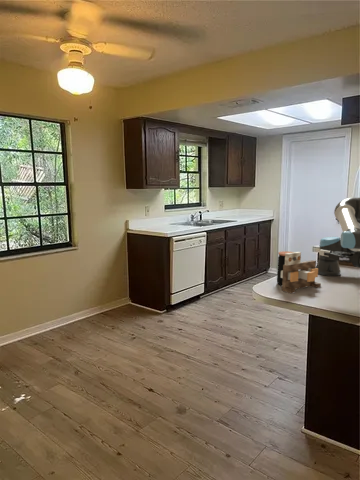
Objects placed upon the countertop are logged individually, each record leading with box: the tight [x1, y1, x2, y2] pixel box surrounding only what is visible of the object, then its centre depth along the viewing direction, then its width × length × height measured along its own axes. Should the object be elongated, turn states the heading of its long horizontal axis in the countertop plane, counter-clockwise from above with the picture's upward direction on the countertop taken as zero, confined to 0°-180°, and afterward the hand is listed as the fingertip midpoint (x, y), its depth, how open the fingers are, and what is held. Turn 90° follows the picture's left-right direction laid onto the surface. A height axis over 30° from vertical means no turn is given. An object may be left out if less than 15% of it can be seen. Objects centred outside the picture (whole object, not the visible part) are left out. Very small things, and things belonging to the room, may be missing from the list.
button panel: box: [281, 251, 322, 294], centre depth 191 cm, size 24×6×20 cm, turn 122°
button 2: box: [308, 268, 319, 278], centre depth 197 cm, size 5×8×5 cm, turn 32°
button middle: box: [298, 270, 316, 282], centre depth 189 cm, size 5×8×5 cm, turn 32°
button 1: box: [281, 270, 299, 282], centre depth 189 cm, size 5×8×5 cm, turn 32°
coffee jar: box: [276, 250, 294, 286], centre depth 200 cm, size 11×11×18 cm
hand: (320, 252), depth 182 cm, fingers closed
